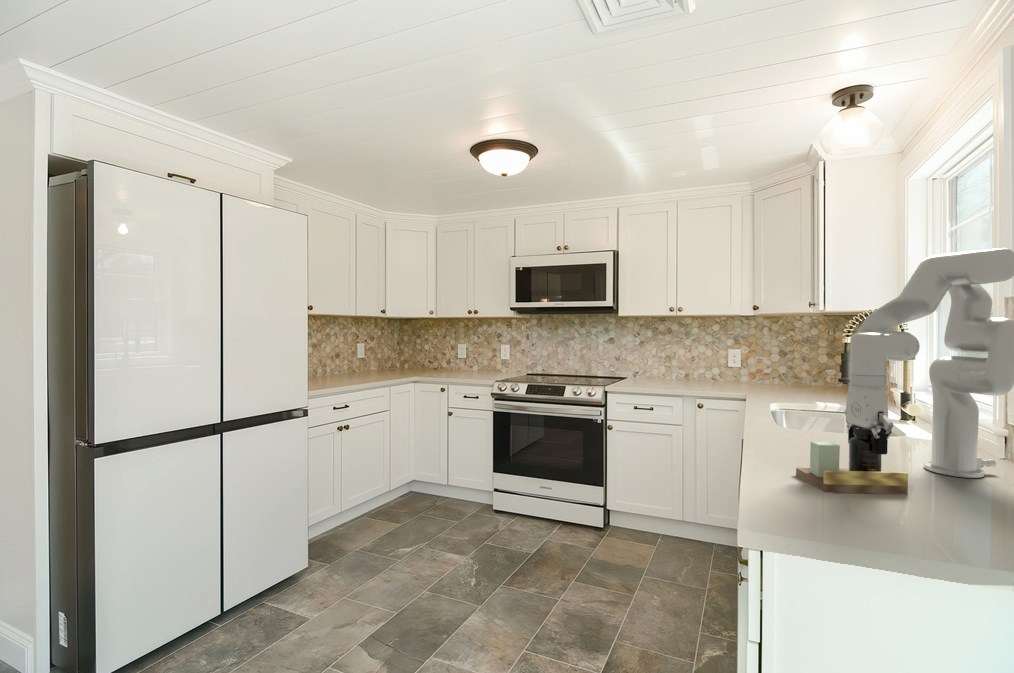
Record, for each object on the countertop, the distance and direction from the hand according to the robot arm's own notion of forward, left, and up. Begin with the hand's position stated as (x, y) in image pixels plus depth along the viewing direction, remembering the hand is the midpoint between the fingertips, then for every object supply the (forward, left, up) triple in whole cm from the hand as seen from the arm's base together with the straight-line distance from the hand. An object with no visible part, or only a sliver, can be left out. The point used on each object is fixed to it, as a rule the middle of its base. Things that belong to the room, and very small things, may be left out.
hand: (867, 449), depth 132 cm
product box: (+11, 0, -7) cm, 12 cm away
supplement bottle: (0, 0, -7) cm, 7 cm away
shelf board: (+5, +1, -9) cm, 10 cm away
